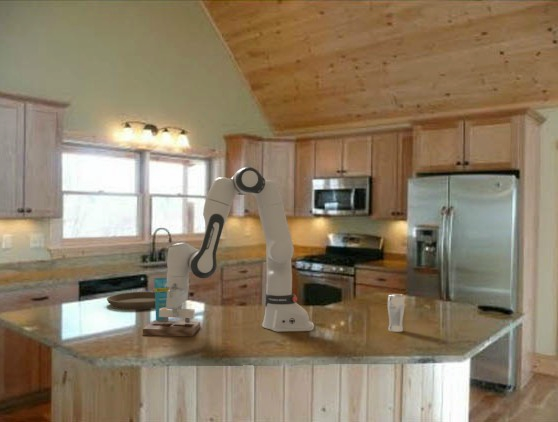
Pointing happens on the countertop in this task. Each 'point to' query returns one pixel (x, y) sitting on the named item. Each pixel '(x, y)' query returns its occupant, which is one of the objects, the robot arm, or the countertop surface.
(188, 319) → the power strip
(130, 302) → the plant saucer
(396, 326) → the beer glass
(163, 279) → the tube
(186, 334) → the keyhole board
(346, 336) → the countertop surface
